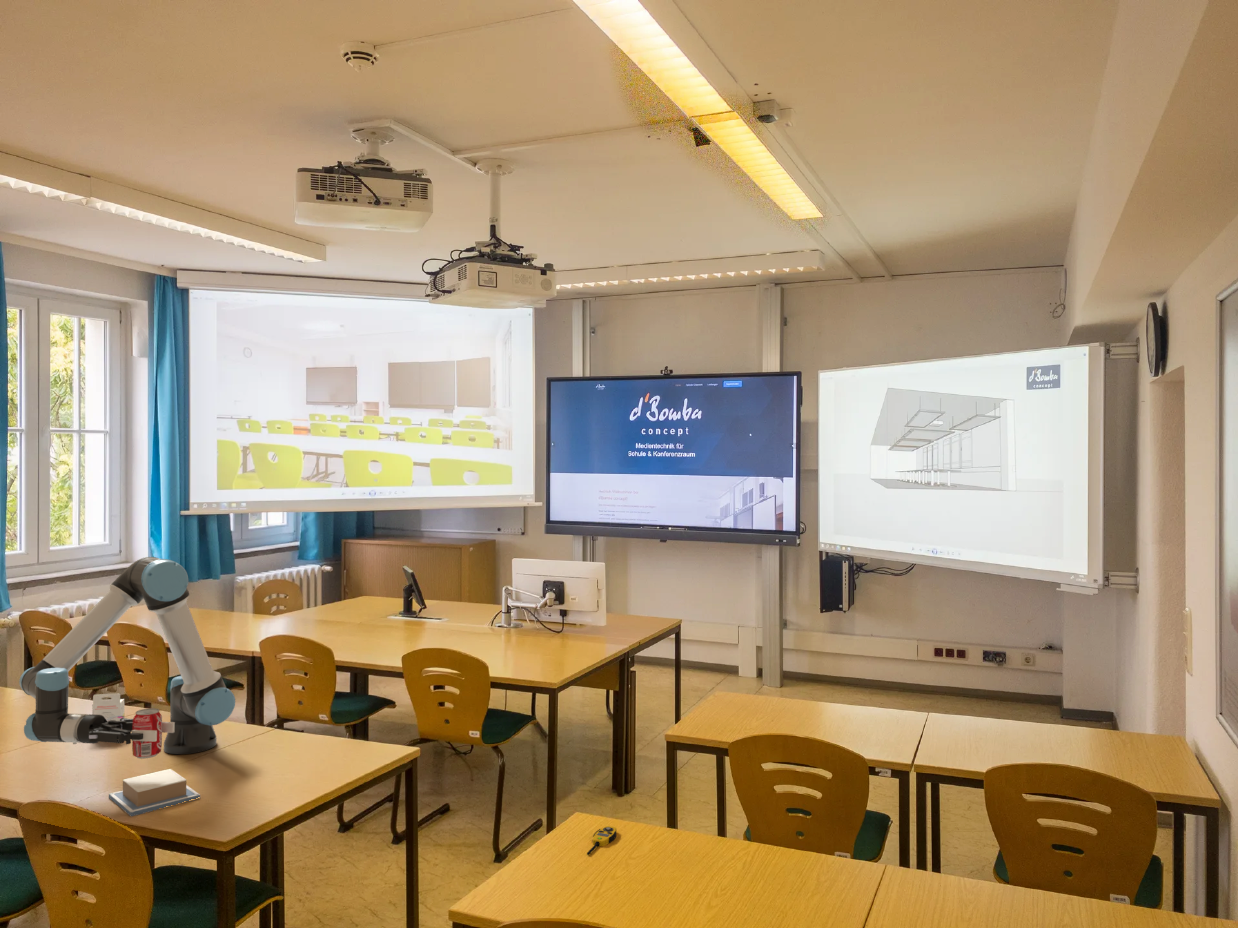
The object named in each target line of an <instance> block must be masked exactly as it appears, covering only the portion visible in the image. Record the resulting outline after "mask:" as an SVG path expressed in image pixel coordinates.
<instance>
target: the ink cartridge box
mask: <svg viewBox="0 0 1238 928" xmlns="http://www.w3.org/2000/svg"><path fill="white" fill-rule="evenodd" d="M103 698H106V699H103ZM107 698H108V699H107ZM109 698H110V699H109ZM91 706H92V710H91V711H92V712H91V714H93V715H102V716H104V717H105V719H106V720H107V722H108V721H110V720H115V721H120V719H121V718H125V698H121V693H119V692H117V693H103V694H102V693H101V694H99V693H98V694H93V697H92V705H91Z"/></svg>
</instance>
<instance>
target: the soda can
mask: <svg viewBox="0 0 1238 928" xmlns="http://www.w3.org/2000/svg"><path fill="white" fill-rule="evenodd" d="M132 719H133V728H132V730H155V731H157V741H155V742H152V741H132V740H131V748H132V749H131V751H132V756H133V757H135V758H137V759H141V760H143V759H150V758H154V757H156V756H158V754H160V753H161V752H162V744H163V732H162V722H163V716H162V713H161V712H160V708H157V707H156V708H155V707H152V708H151V707H149V708H142V709H139V710H137V711H135V714H134V717H133V718H132Z"/></svg>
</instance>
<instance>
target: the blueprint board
mask: <svg viewBox="0 0 1238 928" xmlns="http://www.w3.org/2000/svg"><path fill="white" fill-rule="evenodd" d="M198 797H200V798H201V794H200V793H199V792H197V791H196V790H194V788H191V787H190V786H189V785H188V784H187V779H186V778H185V777H183V776H182V775H181V774H179V773H177V772H176V771H175V770H173V769H172V768H169V769H164V770H163V769H162V770H159V771H156V772H151V773H147V774H141V775H138V776H133V777H128V778H125V779H122V790H120V791H114V792H110V793H108V799H110V800H111V801H112V802H113V803H115V805H116V806H118V807H119V808H121V810H123V811H124V812H125V813H126V814H127V815H128V816H130V817H134V816H138V815H143V814H146V812H147V813H150V812H154V811H157V809H158V810H160V809H159V808H162V809H165V808H164V807H166V806H170V807H172V806H171V805H174V806H177V805H176V804H178V803H182V802H184V801H189V800H191V799H196V798H198ZM189 802H190V801H189ZM182 804H183V803H182ZM178 805H179V804H178ZM166 808H167V807H166ZM153 810H154V811H153Z"/></svg>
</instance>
